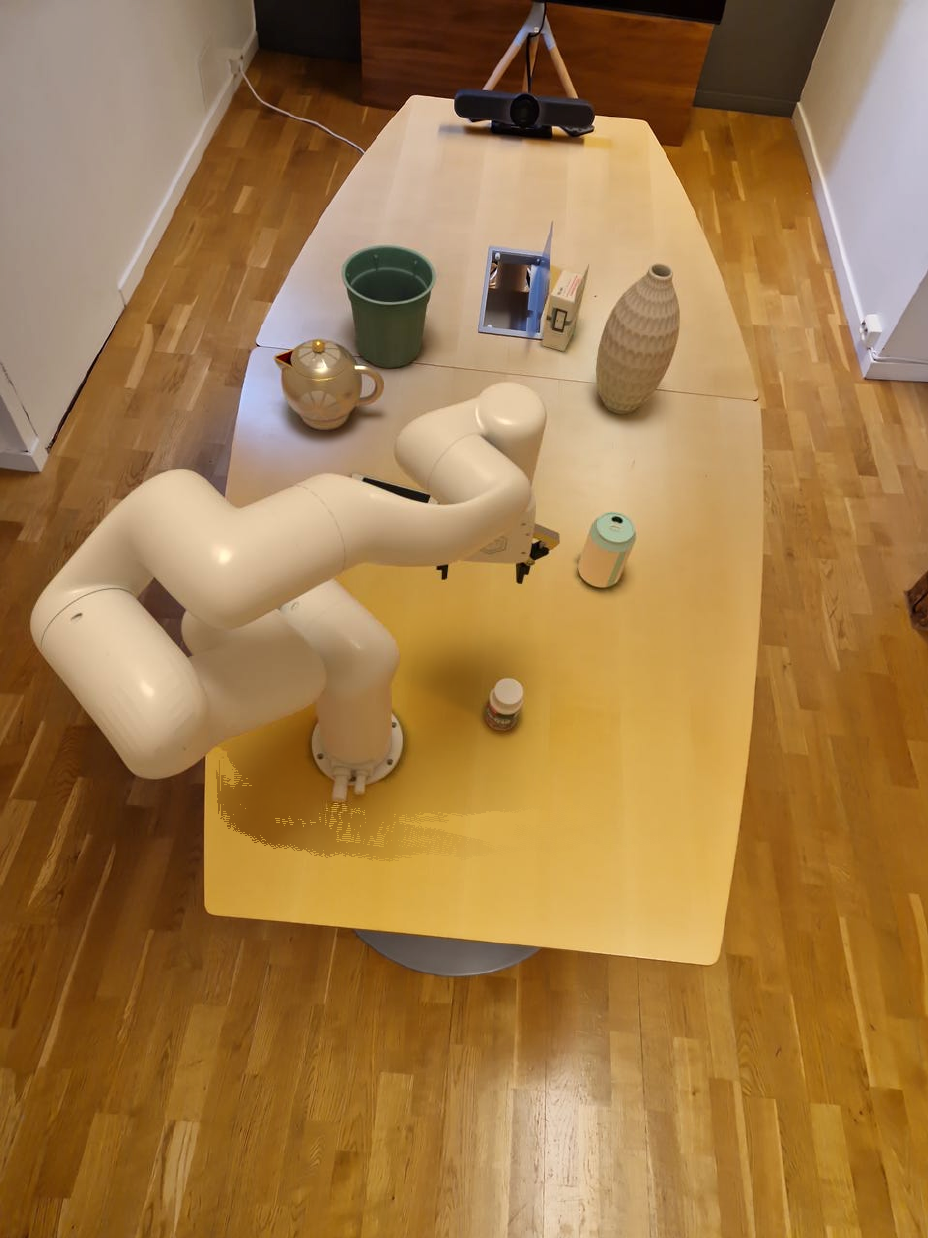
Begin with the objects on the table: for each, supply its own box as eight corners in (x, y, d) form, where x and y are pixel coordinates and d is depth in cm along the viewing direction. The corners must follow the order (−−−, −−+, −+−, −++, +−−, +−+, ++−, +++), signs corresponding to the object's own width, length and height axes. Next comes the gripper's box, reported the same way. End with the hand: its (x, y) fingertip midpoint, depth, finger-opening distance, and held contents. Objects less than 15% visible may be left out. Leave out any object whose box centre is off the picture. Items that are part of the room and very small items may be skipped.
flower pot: (373, 307, 161) (370, 232, 147) (446, 336, 158) (451, 263, 145) (330, 357, 153) (323, 283, 139) (407, 388, 150) (408, 316, 136)
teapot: (278, 440, 141) (266, 367, 127) (286, 385, 148) (275, 310, 134) (382, 445, 143) (381, 373, 129) (385, 390, 150) (385, 316, 136)
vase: (603, 368, 157) (641, 235, 133) (663, 396, 154) (713, 264, 130) (573, 408, 151) (608, 275, 127) (635, 437, 148) (682, 307, 124)
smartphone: (353, 475, 138) (353, 472, 138) (440, 499, 137) (440, 495, 136) (338, 507, 135) (338, 503, 134) (427, 531, 134) (427, 528, 133)
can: (570, 560, 133) (584, 514, 123) (608, 549, 135) (626, 503, 124) (588, 594, 130) (605, 550, 119) (627, 583, 131) (647, 538, 121)
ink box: (552, 319, 163) (565, 253, 151) (576, 326, 163) (591, 260, 150) (540, 345, 159) (552, 280, 146) (564, 352, 158) (579, 287, 146)
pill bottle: (479, 721, 117) (484, 696, 110) (494, 696, 119) (500, 669, 112) (508, 737, 116) (516, 712, 109) (523, 710, 118) (531, 685, 111)
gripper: (417, 506, 87) (412, 593, 102) (576, 516, 89) (549, 600, 103) (420, 454, 91) (415, 545, 106) (572, 464, 92) (547, 552, 107)
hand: (481, 572), depth 104 cm, fingers open, 9 cm apart
